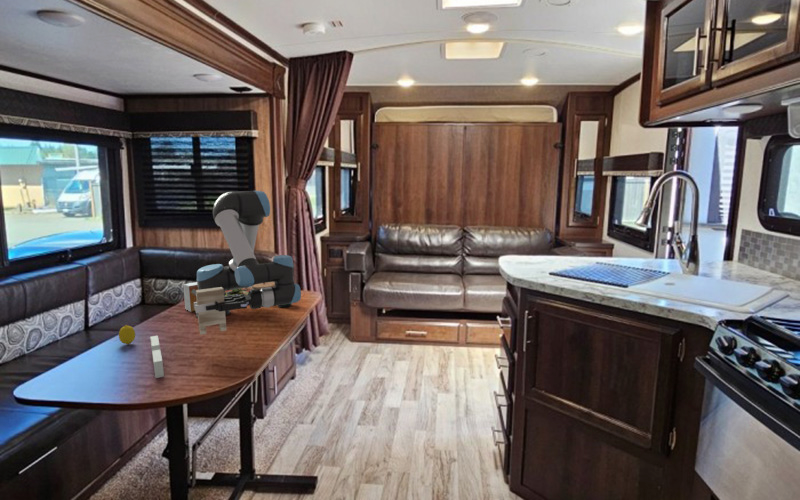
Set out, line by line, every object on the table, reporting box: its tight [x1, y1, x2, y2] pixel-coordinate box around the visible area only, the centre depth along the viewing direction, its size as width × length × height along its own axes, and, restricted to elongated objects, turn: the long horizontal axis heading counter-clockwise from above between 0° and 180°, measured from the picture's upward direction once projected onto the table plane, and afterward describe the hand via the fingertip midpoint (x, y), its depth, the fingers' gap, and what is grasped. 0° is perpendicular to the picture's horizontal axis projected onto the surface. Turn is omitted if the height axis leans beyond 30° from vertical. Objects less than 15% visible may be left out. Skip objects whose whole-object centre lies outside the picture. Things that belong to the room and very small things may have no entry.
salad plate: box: [225, 288, 249, 296], centre depth 249 cm, size 19×18×5 cm
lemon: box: [118, 324, 136, 346], centre depth 178 cm, size 6×6×8 cm
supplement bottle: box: [277, 303, 293, 309], centre depth 228 cm, size 7×7×12 cm
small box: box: [182, 281, 198, 313], centre depth 225 cm, size 8×6×13 cm
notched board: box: [149, 335, 165, 379], centre depth 161 cm, size 28×2×6 cm, turn 30°
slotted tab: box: [196, 287, 227, 336], centre depth 168 cm, size 4×9×16 cm, turn 121°
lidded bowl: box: [251, 281, 275, 290], centre depth 238 cm, size 13×13×11 cm
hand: (194, 307), depth 165 cm, fingers closed on slotted tab, 3 cm apart
